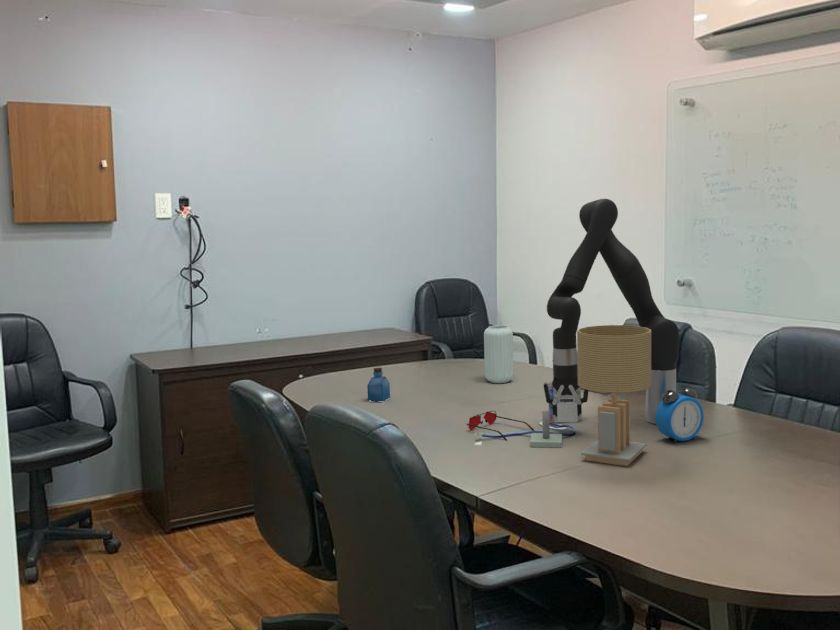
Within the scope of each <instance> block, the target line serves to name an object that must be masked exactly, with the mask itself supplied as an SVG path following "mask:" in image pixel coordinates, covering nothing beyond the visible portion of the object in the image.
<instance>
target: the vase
mask: <svg viewBox="0 0 840 630" xmlns="http://www.w3.org/2000/svg"><path fill="white" fill-rule="evenodd" d="M483 352H484V353H483V354H484V356H483V357H484V359H483V360H484V378H486V380H487V381H489V383H492V384H507V383H508V382H510V381H511V380H512V379H513V378H514V334H513V330H512V329H511V328H510V327H509V326H508V325H497V324H496V325H489V326H488V327H487V328H486V329H484V332H483Z"/></svg>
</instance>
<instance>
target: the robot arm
mask: <svg viewBox="0 0 840 630" xmlns="http://www.w3.org/2000/svg"><path fill="white" fill-rule="evenodd" d="M578 214H579V221H580V225H581V226H582V227H583V229H584V231H585V232H586V234H585V236H584V238H583V239H582V241H581V243H580V244H579V246H578V247H577V248H576V250H575V252H574V253H573V254H572V256H571V257H570V260H569V261H568V263H567V266H566V267H565V268H566V269H565V271H564V273H563V275H562V276H563V277H562V279H561V281H560V282H559V283H558V285H557V286H556V288H555V289H554V290H553V291H552V294H551V295H550V296H549V299H548V300H547V304H546V312H547V315H548V317H550V318H551V319H554V320H560V321H561V325H560V327H556V328H555V329H553V330H552V374H553V377H552V382H544V383H543V390H544V396H545V401H546V403H547V404H549V403H551V404H552V405H553V415H555V417H557V401H558V399H559V397H560V395H573V396H574V398H575V400H576V401H577V414H578V416H580V415H579V414H581V413H582V412H583V411H582V404H584V403H587V402H588V398H589V390H586V389H584V390H583V394H582V395H583V396H582V397H581V399H580V397H579V395H578V393H577V391H576V390H577V389H578V387H579V386H578V366H577V330H579V323H580V320H581V313H582V308H581V305H580V302H579V300H578V299H576V298H575V297H574V295H577V294H579V293H582V292H583V290H584V288H585V286H586V283H587V280H588V279H589V276H590V273H591V270H592V268H593V265H594V263H595V260H597V256H598V254H600V255H601V257H602V258H603V261H604V263H605V264H606V267H607V268H608V269H609V272H610V274H611V277H612V278H613V280H614V281H615V284H616V286H617V288H618V289H619V290H620V291H621V293H622V296H623V297H624V299H625V301H626V302H627V303H628V305H629V307H630V308H631V310H632V312H633V315H634V316H635V318H636V320H637V323H638V327H644V328H648V329H650V330H651V386H650V388H648V389H646V390H645V421H646V422H647V423H651V424H655V425H657V424H656V411H657V408H658V406H659V404H660V402H661V401H662V395H663V393H665V392H666V391H668V390H674V391H676V392H677V363H678V360H679V354H680V353H679V352H680V331H679V327H678V325H677V323H676V322H674V321H673V320H671V319H669V318H666V317H665V316H664V315H663V314H662V312H661V311H660V309H659V307H658V306H657V304H656V302H655V300H654V298H653V293H652V291H651V286H650V282H649V278H648V276H647V274H646V271H645V270H644V268H643V266H642V264H641V262H640V261H639V259H638V257H637V256H636V255H635V254H634V253H633V252H632V251H631V250H630V249H629V248H628V247H626V246H625V245H624V244H623V243H622V242H621V241H620V240H619V239H618V238H617V236H616V235H615V233H614V231H613V227H614V226H615V224H616V222H617V220H618V217H619V210H618V207H617V205H616V203H615V202H614V201H613V200H611V199H609V198H599V199H596V200H592V201H590V202H586V203H585V204H584V205H582V206H581V208H580V210H579V213H578ZM551 386H553V387H554V388H555V390H556V393H555V396H554V398H553V399H551V398H550V395H549V390H550V389H551ZM582 389H583V388H582ZM582 414H583V413H582Z"/></svg>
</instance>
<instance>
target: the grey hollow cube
mask: <svg viewBox="0 0 840 630" xmlns="http://www.w3.org/2000/svg"><path fill="white" fill-rule="evenodd" d="M557 419H558V423H578V421H579V420H578V414H577V401H576V400H575V398H559V399H558V401H557Z"/></svg>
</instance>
